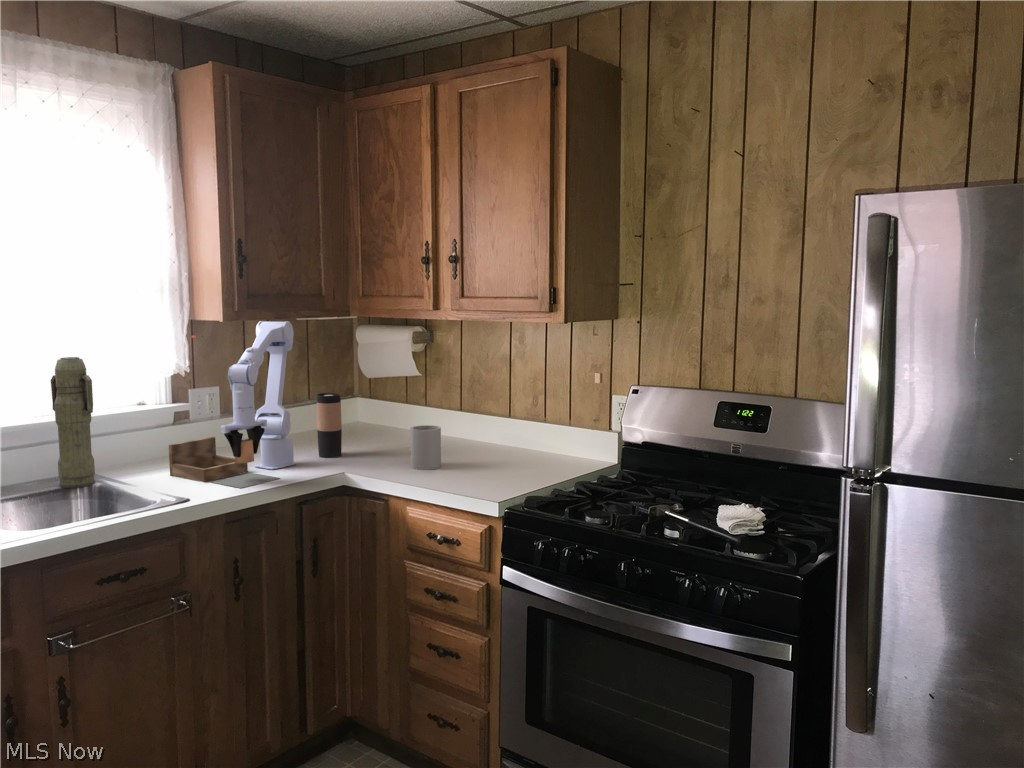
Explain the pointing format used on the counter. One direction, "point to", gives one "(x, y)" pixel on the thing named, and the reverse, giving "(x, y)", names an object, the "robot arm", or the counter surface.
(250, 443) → the peach orange cylinder
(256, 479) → the slate mat
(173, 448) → the potting tray
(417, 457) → the cup
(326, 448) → the travel mug
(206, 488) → the counter surface
